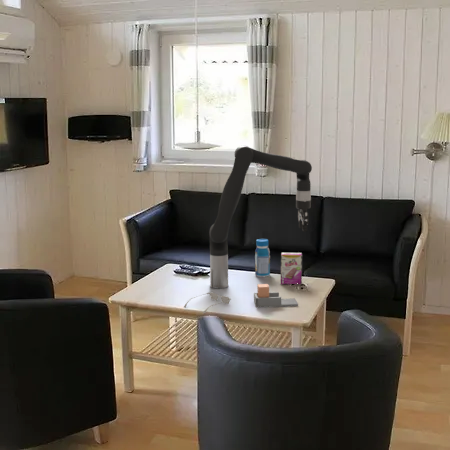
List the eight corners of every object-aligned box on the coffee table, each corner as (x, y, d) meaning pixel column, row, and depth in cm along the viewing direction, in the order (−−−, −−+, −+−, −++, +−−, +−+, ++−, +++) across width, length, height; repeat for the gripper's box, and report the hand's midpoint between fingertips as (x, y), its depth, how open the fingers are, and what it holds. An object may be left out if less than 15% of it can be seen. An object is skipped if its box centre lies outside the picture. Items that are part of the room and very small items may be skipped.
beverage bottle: (262, 278, 365) (261, 242, 361) (251, 275, 372) (251, 239, 368) (273, 275, 371) (273, 240, 367) (263, 272, 377) (262, 237, 373)
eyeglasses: (231, 305, 321) (231, 297, 320) (204, 314, 309) (204, 306, 308) (209, 299, 332) (209, 291, 331) (182, 307, 319) (181, 299, 319)
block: (258, 303, 318) (258, 287, 317) (257, 300, 323) (257, 284, 321) (269, 303, 318) (269, 286, 317) (267, 299, 323) (267, 283, 322)
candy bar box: (280, 284, 353) (280, 254, 349) (280, 282, 357) (280, 252, 354) (301, 285, 352) (302, 254, 348) (301, 282, 356) (302, 252, 353)
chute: (256, 307, 316) (256, 298, 315) (254, 301, 325) (253, 292, 324) (298, 306, 318) (298, 296, 317) (294, 300, 326) (294, 291, 326)
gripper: (293, 197, 352) (292, 227, 355) (299, 201, 338) (298, 233, 341) (307, 196, 353) (306, 227, 356) (313, 201, 339) (313, 232, 342)
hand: (302, 230), depth 349 cm, fingers open, 8 cm apart
